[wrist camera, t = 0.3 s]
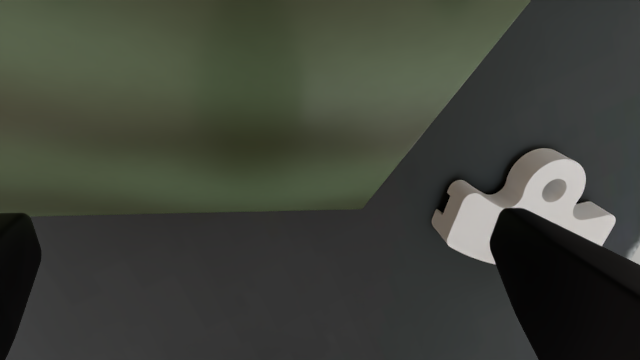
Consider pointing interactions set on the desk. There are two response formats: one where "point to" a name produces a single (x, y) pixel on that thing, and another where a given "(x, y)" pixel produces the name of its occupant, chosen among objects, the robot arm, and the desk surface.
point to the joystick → (522, 204)
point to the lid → (224, 99)
